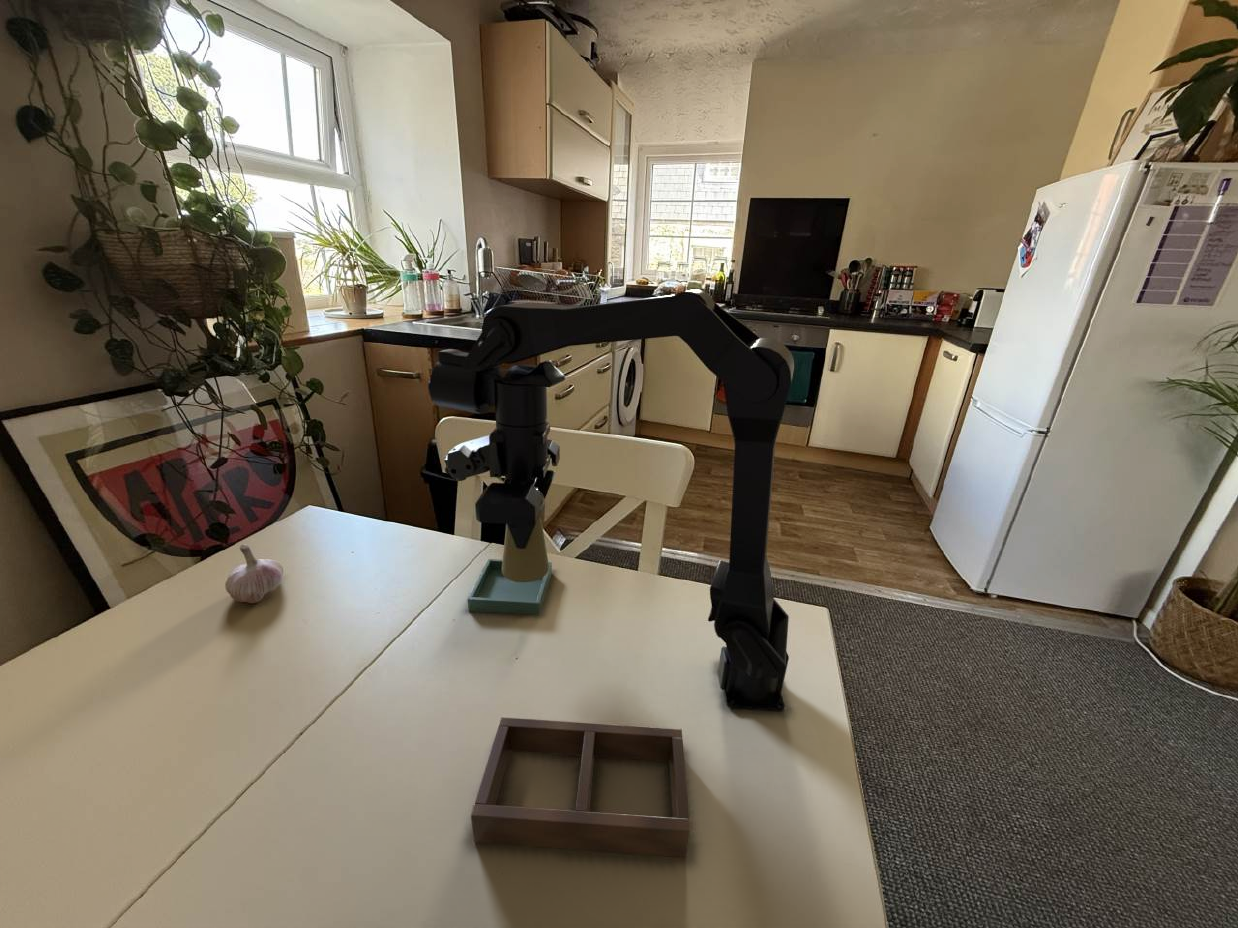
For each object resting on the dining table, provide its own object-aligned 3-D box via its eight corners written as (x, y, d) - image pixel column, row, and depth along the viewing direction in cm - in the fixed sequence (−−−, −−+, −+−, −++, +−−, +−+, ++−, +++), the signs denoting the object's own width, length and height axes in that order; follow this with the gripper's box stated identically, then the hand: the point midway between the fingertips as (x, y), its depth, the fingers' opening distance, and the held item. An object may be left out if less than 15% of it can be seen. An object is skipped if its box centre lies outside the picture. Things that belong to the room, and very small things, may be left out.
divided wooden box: (678, 753, 50) (681, 728, 49) (686, 857, 41) (690, 831, 40) (503, 741, 51) (501, 716, 49) (473, 842, 42) (470, 815, 41)
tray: (551, 572, 78) (551, 562, 77) (539, 615, 69) (539, 603, 68) (489, 569, 78) (488, 558, 78) (468, 610, 69) (467, 599, 68)
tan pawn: (540, 585, 61) (538, 505, 56) (493, 578, 62) (489, 499, 57) (555, 559, 66) (555, 484, 62) (512, 552, 67) (509, 478, 63)
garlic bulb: (253, 613, 67) (238, 563, 64) (213, 601, 69) (196, 552, 66) (301, 581, 74) (289, 534, 71) (263, 571, 76) (250, 526, 72)
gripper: (475, 394, 65) (482, 500, 71) (417, 444, 48) (433, 578, 54) (560, 399, 65) (560, 505, 71) (532, 450, 48) (535, 584, 54)
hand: (525, 537), depth 62 cm, fingers closed on tan pawn, 4 cm apart
